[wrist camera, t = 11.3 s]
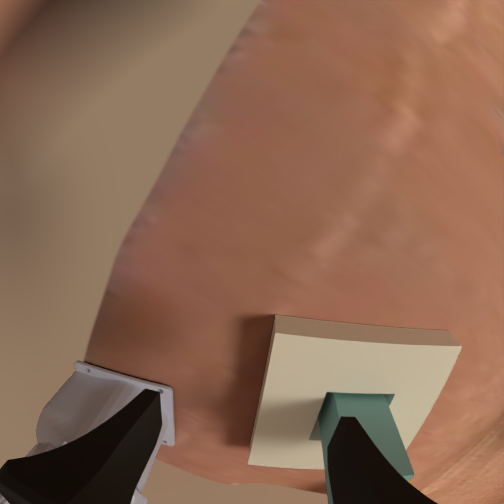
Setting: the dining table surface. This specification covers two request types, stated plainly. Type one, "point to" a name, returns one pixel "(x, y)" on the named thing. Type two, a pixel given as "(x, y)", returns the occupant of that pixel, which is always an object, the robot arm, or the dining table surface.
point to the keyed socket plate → (343, 381)
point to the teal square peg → (374, 423)
